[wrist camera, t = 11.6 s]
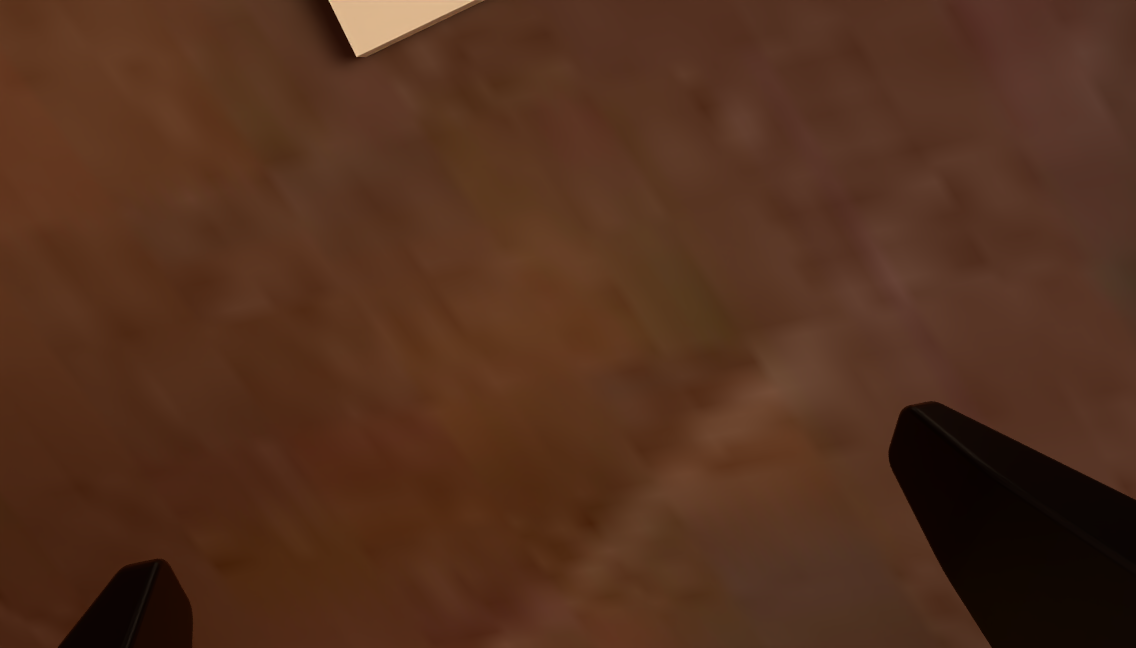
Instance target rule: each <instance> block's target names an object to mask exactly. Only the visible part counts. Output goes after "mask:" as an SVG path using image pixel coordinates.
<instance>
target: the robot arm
mask: <svg viewBox="0 0 1136 648" xmlns="http://www.w3.org/2000/svg"><path fill="white" fill-rule="evenodd" d="M889 462H890V466H891V468H892V471H893V473H894V475H895V477H896V479H897V481H898V483H899V485H900V487H901V489H902V491H903V493H904V495H905V497H906V499H907V501H908V503H909V505H910V507H911V509H912V511H913V513H914V514H915V516H916V518H917V520H918V522H919V524H920V526H921V528H922V530H923V532H924V534H925V536H926V538H927V540H928V542H929V544H930V546H931V548H932V550H933V552H934V554H935V556H936V558H937V560H938V562H939V563H940V565H941V567H942V569H943V571H944V572H945V574H946V576H947V577H948V579H949V581H950V582H951V584H952V586H953V587H954V589H955V590H956V592H957V594H958V595H959V597H960V598H961V600H962V601H963V603H964V605H965V606H966V608H967V609H968V611H969V612H970V614H971V616H972V617H973V619H974V620H975V622H976V623H977V625H978V627H979V628H980V630H981V631H982V633H983V634H984V636H985V638H986V639H987V641H988V642H989V644H990V645H991V647H992V648H1136V500H1135V499H1133V498H1131V497H1129V496H1127V495H1125V494H1123V493H1121V492H1119V491H1117V490H1115V489H1112V488H1110V487H1108V486H1106V485H1104V484H1102V483H1100V482H1098V481H1096V480H1094V479H1092V478H1090V477H1088V476H1086V475H1084V474H1082V473H1080V472H1078V471H1076V470H1074V469H1072V468H1070V467H1068V466H1066V465H1064V464H1062V463H1060V462H1058V461H1056V460H1054V459H1052V458H1050V457H1048V456H1046V455H1044V454H1042V453H1040V452H1038V451H1036V450H1034V449H1032V448H1030V447H1028V446H1026V445H1024V444H1022V443H1020V442H1018V441H1016V440H1014V439H1012V438H1010V437H1008V436H1005V435H1003V434H1001V433H999V432H997V431H995V430H993V429H991V428H989V427H987V426H985V425H983V424H981V423H979V422H977V421H975V420H973V419H971V418H969V417H967V416H965V415H963V414H961V413H959V412H957V411H955V410H953V409H951V408H949V407H947V406H945V405H943V404H941V403H938V402H932V401H930V402H924V403H919V404H914V405H909V406H906V407H905V408H904V409H903V410H902V411H901V412H900V415H899V418H898V421H897V424H896V427H895V431H894V434H893V437H892V440H891V444H890V447H889ZM192 632H193V616H192V609H191V605H190V602H189V600H188V597H187V596H186V594H185V592H184V590H183V588H182V587H181V585H180V583H179V581H178V579H177V577H176V576H175V574H174V572H173V570H172V568H171V566H170V565H169V564H168V562H166V561H165V560H163V559H153V560H148V561H143V562H139V563H134V564H129V565H126V566H125V567H123V568H122V569H120V570H119V571H118V572H117V573H116V574H115V576H114V577H113V578H112V579H111V581H110V582H109V583H108V585H107V586H106V587H105V588H104V590H103V591H102V592H101V593H100V595H99V596H98V597H97V598H96V600H95V601H94V602H93V603H92V605H91V606H90V607H89V609H88V610H87V611H86V612H85V614H84V615H83V616H82V617H81V619H80V620H79V621H78V622H77V624H76V625H75V626H74V627H73V629H72V630H71V631H70V633H69V634H68V635H67V636H66V638H65V639H64V640H63V641H62V643H61V644H60V645H59V646H58V648H192Z"/></svg>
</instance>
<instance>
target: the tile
mask: <svg viewBox="0 0 1136 648" xmlns="http://www.w3.org/2000/svg"><path fill="white" fill-rule="evenodd" d="M482 1H484V0H329V2H330V4H331V6H332V8H333V10H334V12H335V14H336V16H337V18H338V20H339V23H340V25H341V27H342V29H343V31H344V33H345V35H346V37H347V39H348V41H349V43H350V45H351V47H352V49H353V51H354V53H355V55H356V57H367V56H369V55H371V54H373V53H376V52H378V51H380V50H382V49H384V48H386V47H388V46H390V45H392V44H394V43H396V42H399V41H401V40H403V39H405V38H407V37H409V36H411V35H413V34H415V33H417V32H420V31H422V30H424V29H426V28H428V27H430V26H432V25H434V24H436V23H438V22H440V21H443V20H445V19H447V18H449V17H451V16H453V15H455V14H457V13H459V12H461V11H463V10H466V9H468V8H470V7H472V6H474V5H476V4H478V3H480V2H482Z"/></svg>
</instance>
